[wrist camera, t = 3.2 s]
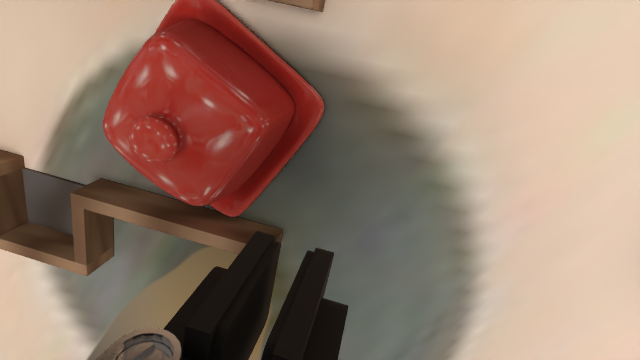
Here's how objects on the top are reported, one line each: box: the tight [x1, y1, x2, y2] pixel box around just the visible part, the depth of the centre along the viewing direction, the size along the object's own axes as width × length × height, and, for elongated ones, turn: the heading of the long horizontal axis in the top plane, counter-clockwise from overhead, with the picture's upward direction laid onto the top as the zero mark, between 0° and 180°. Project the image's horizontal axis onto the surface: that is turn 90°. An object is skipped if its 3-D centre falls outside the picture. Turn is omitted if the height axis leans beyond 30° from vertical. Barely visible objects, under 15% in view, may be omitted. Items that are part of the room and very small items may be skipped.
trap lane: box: [0, 0, 325, 276], centre depth 26 cm, size 29×29×3 cm
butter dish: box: [103, 0, 324, 217], centre depth 22 cm, size 12×12×8 cm
